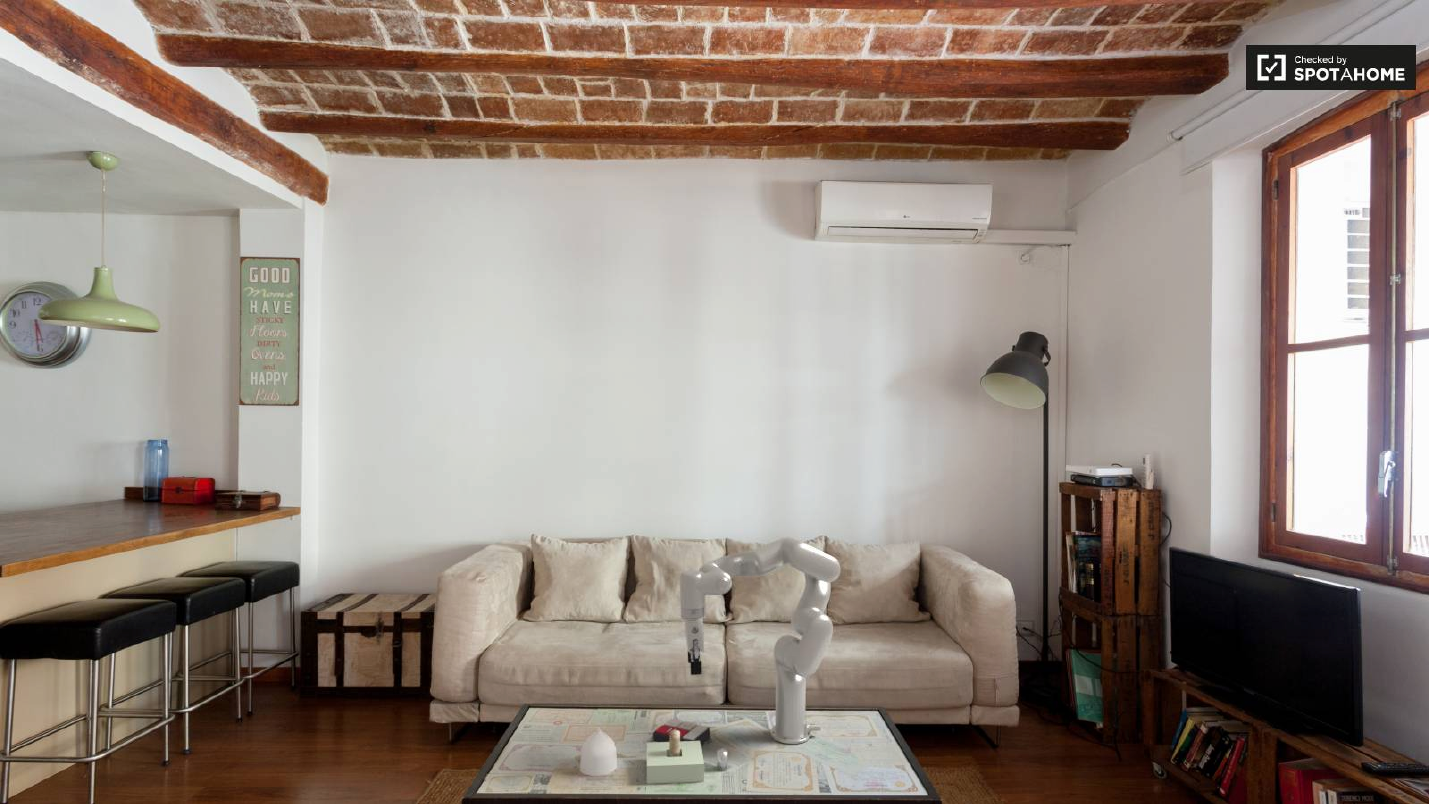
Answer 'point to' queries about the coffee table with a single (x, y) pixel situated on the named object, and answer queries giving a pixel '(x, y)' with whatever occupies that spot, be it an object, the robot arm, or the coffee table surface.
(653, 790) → the coffee table surface
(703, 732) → the calculator
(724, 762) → the short pin
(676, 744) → the long pin
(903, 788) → the coffee table surface
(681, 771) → the peg block
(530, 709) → the coffee table surface
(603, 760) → the teardrop
